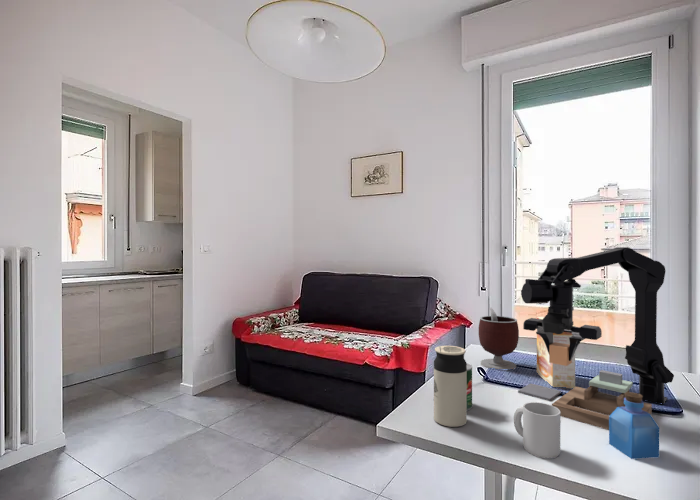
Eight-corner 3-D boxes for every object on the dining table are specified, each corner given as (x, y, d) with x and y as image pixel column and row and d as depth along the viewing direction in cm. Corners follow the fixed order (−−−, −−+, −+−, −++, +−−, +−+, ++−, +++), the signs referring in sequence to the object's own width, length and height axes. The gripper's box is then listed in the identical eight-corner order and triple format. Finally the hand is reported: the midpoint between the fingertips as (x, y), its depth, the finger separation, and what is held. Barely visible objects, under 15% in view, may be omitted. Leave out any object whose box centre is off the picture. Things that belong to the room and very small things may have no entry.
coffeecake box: (535, 372, 137) (535, 316, 137) (557, 373, 136) (557, 317, 136) (551, 387, 122) (551, 324, 122) (576, 389, 121) (576, 325, 121)
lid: (597, 378, 115) (597, 366, 115) (632, 385, 109) (632, 373, 109) (588, 385, 109) (588, 372, 109) (625, 393, 103) (625, 380, 103)
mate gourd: (525, 371, 139) (525, 314, 138) (485, 371, 139) (485, 314, 139) (508, 358, 154) (508, 307, 154) (472, 358, 154) (472, 307, 154)
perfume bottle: (609, 443, 87) (609, 390, 87) (635, 442, 88) (635, 389, 88) (631, 458, 81) (631, 400, 81) (659, 457, 82) (659, 399, 82)
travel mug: (467, 416, 102) (467, 346, 101) (465, 430, 94) (465, 354, 94) (435, 412, 104) (435, 344, 104) (431, 425, 97) (431, 351, 96)
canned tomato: (452, 397, 114) (452, 359, 114) (477, 405, 109) (477, 365, 109) (437, 405, 109) (437, 365, 109) (462, 413, 103) (462, 371, 103)
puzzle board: (575, 394, 116) (575, 377, 116) (651, 413, 103) (651, 394, 103) (551, 413, 103) (551, 394, 103) (635, 437, 90) (635, 415, 90)
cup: (548, 462, 80) (549, 419, 80) (504, 442, 88) (504, 402, 88) (566, 452, 84) (567, 410, 84) (523, 434, 92) (523, 395, 92)
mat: (530, 385, 124) (530, 383, 124) (561, 392, 118) (561, 390, 118) (518, 392, 118) (518, 390, 118) (549, 401, 112) (549, 398, 112)
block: (554, 359, 114) (554, 342, 114) (571, 362, 111) (572, 344, 111) (549, 362, 111) (549, 344, 111) (566, 366, 108) (567, 347, 108)
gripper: (515, 302, 112) (515, 357, 112) (591, 310, 98) (590, 372, 99) (530, 299, 120) (530, 350, 120) (602, 305, 106) (601, 363, 107)
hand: (560, 358), depth 111 cm, fingers closed on block, 4 cm apart
